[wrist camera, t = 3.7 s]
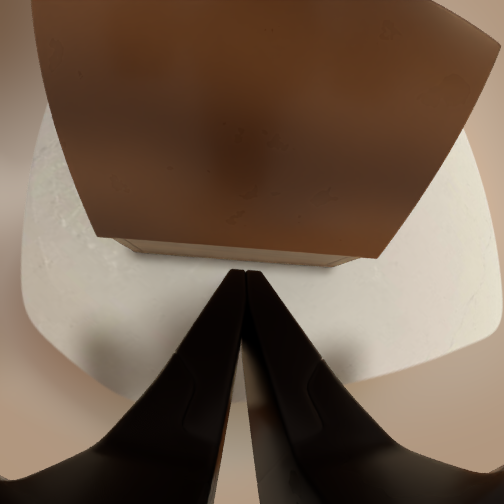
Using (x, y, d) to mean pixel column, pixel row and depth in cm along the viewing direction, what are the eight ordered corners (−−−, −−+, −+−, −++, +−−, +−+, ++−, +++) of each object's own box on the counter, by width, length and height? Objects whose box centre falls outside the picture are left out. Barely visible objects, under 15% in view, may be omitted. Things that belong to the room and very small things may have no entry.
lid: (44, -19, 4) (28, -15, 3) (488, 37, 5) (502, 45, 4) (101, 224, 13) (96, 237, 13) (374, 246, 14) (377, 259, 14)
